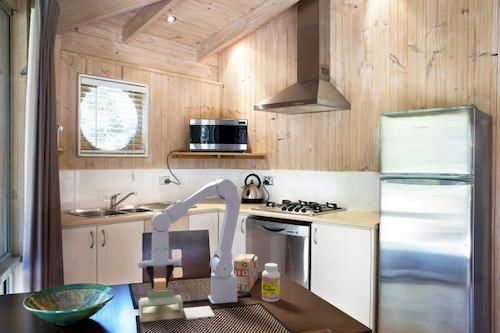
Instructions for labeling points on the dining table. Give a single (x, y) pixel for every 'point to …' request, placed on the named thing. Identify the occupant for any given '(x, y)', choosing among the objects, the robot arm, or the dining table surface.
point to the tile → (198, 312)
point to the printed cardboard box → (246, 271)
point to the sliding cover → (161, 299)
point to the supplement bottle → (271, 283)
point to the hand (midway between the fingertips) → (159, 287)
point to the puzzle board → (160, 312)
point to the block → (159, 284)
